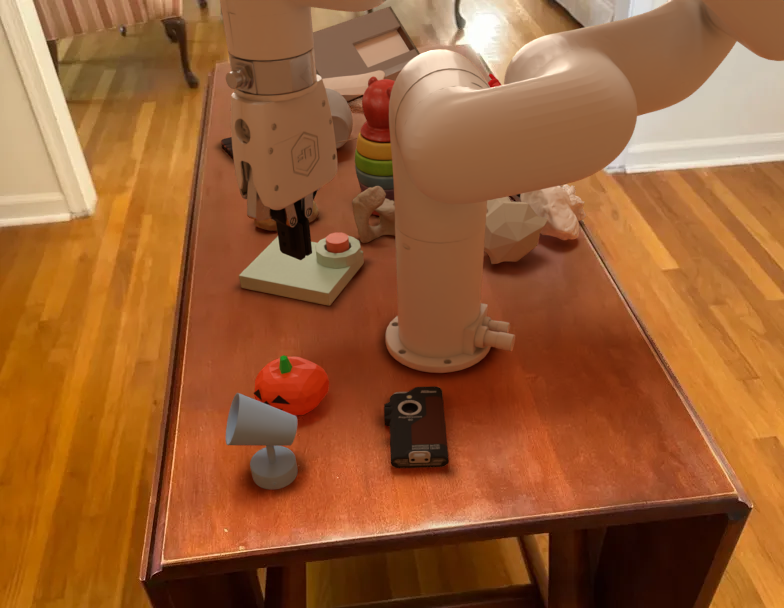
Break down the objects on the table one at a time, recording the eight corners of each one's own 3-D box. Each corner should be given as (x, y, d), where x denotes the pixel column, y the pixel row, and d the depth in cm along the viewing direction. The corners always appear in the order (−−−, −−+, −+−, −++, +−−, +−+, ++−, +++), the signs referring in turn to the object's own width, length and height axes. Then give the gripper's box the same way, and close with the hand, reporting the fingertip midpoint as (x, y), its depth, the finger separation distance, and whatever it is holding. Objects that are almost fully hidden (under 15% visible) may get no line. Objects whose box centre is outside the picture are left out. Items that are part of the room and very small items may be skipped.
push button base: (368, 262, 104) (367, 238, 102) (333, 306, 96) (330, 282, 94) (281, 246, 108) (278, 223, 105) (240, 287, 100) (236, 264, 98)
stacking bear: (437, 208, 115) (438, 84, 102) (377, 225, 111) (371, 100, 99) (402, 181, 121) (399, 62, 109) (345, 196, 118) (335, 76, 106)
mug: (368, 144, 126) (357, 125, 133) (345, 94, 120) (335, 77, 128) (304, 178, 128) (297, 158, 135) (278, 130, 122) (273, 112, 129)
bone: (412, 206, 112) (410, 165, 102) (418, 245, 110) (416, 207, 100) (355, 213, 112) (347, 173, 102) (359, 252, 110) (352, 215, 101)
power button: (352, 244, 101) (352, 234, 100) (343, 255, 99) (342, 245, 98) (332, 241, 102) (331, 230, 101) (322, 252, 100) (321, 241, 99)
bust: (541, 250, 102) (558, 264, 112) (591, 216, 99) (604, 234, 109) (498, 177, 104) (519, 197, 114) (546, 142, 101) (563, 166, 111)
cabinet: (357, 47, 170) (265, 81, 155) (355, -2, 163) (258, 29, 148) (430, 65, 160) (339, 104, 145) (431, 14, 153) (335, 49, 138)
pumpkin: (332, 423, 81) (327, 375, 76) (257, 429, 80) (247, 382, 76) (330, 380, 86) (325, 333, 81) (259, 386, 86) (250, 339, 81)
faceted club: (474, 271, 99) (443, 193, 118) (535, 282, 101) (495, 203, 120) (496, 208, 94) (460, 136, 112) (559, 220, 96) (513, 148, 114)
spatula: (265, 82, 151) (272, 91, 153) (258, 100, 150) (265, 108, 152) (383, 67, 137) (389, 77, 139) (376, 86, 136) (382, 96, 138)
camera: (382, 455, 73) (382, 384, 82) (385, 475, 75) (385, 404, 83) (447, 449, 73) (441, 378, 81) (449, 469, 75) (442, 398, 83)
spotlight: (236, 496, 74) (307, 486, 74) (216, 420, 67) (294, 409, 67) (235, 460, 77) (303, 451, 78) (216, 384, 70) (291, 375, 71)
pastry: (269, 239, 109) (265, 215, 107) (245, 223, 113) (241, 199, 111) (323, 218, 113) (320, 194, 111) (298, 203, 117) (295, 179, 115)
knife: (269, 171, 124) (252, 175, 123) (270, 176, 124) (253, 181, 123) (233, 135, 134) (217, 139, 133) (234, 140, 135) (218, 144, 134)
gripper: (244, 104, 62) (273, 296, 75) (359, 54, 70) (367, 234, 83) (182, 86, 65) (220, 273, 78) (298, 40, 74) (315, 216, 86)
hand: (296, 253), depth 81 cm, fingers closed
